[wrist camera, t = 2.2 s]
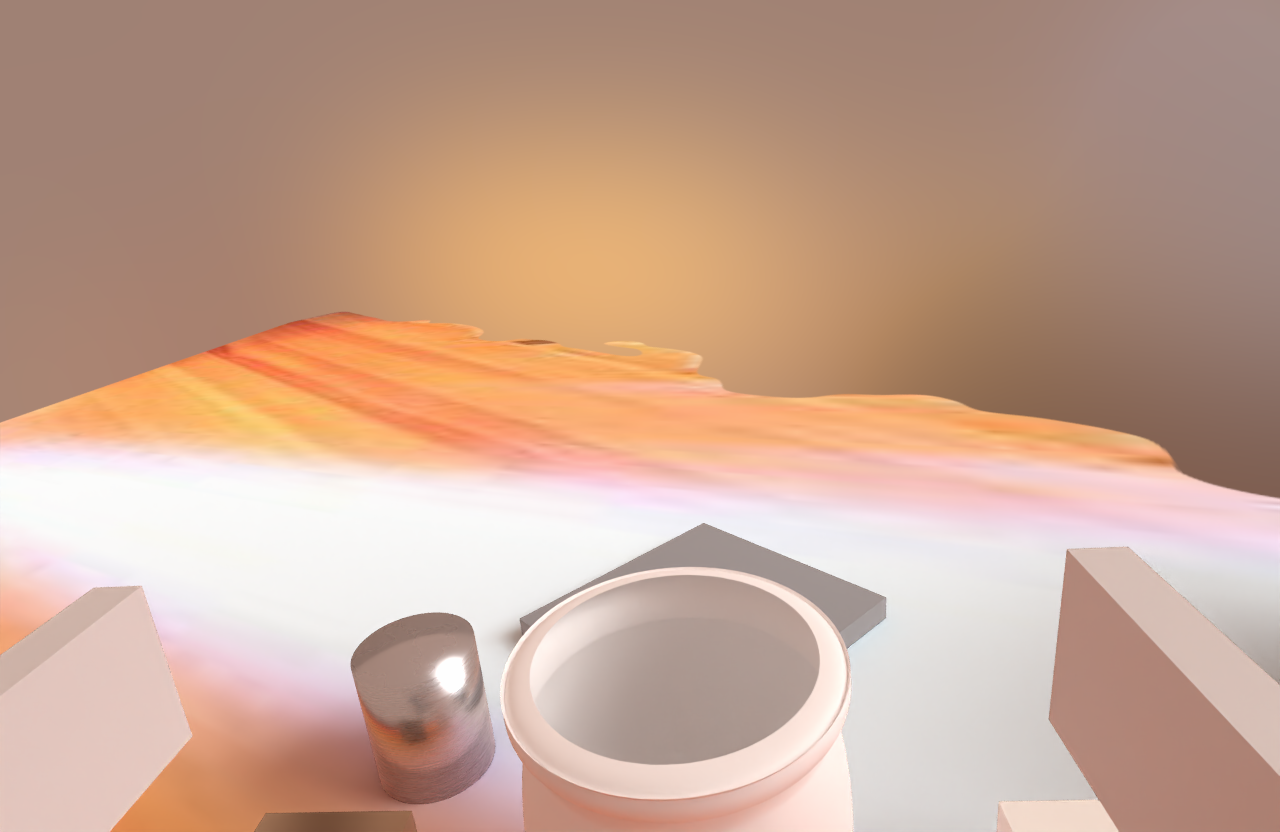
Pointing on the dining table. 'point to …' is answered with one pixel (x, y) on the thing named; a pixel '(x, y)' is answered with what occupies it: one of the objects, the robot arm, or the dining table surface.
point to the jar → (681, 708)
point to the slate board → (720, 549)
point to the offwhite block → (1054, 816)
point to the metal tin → (424, 706)
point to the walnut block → (338, 822)
